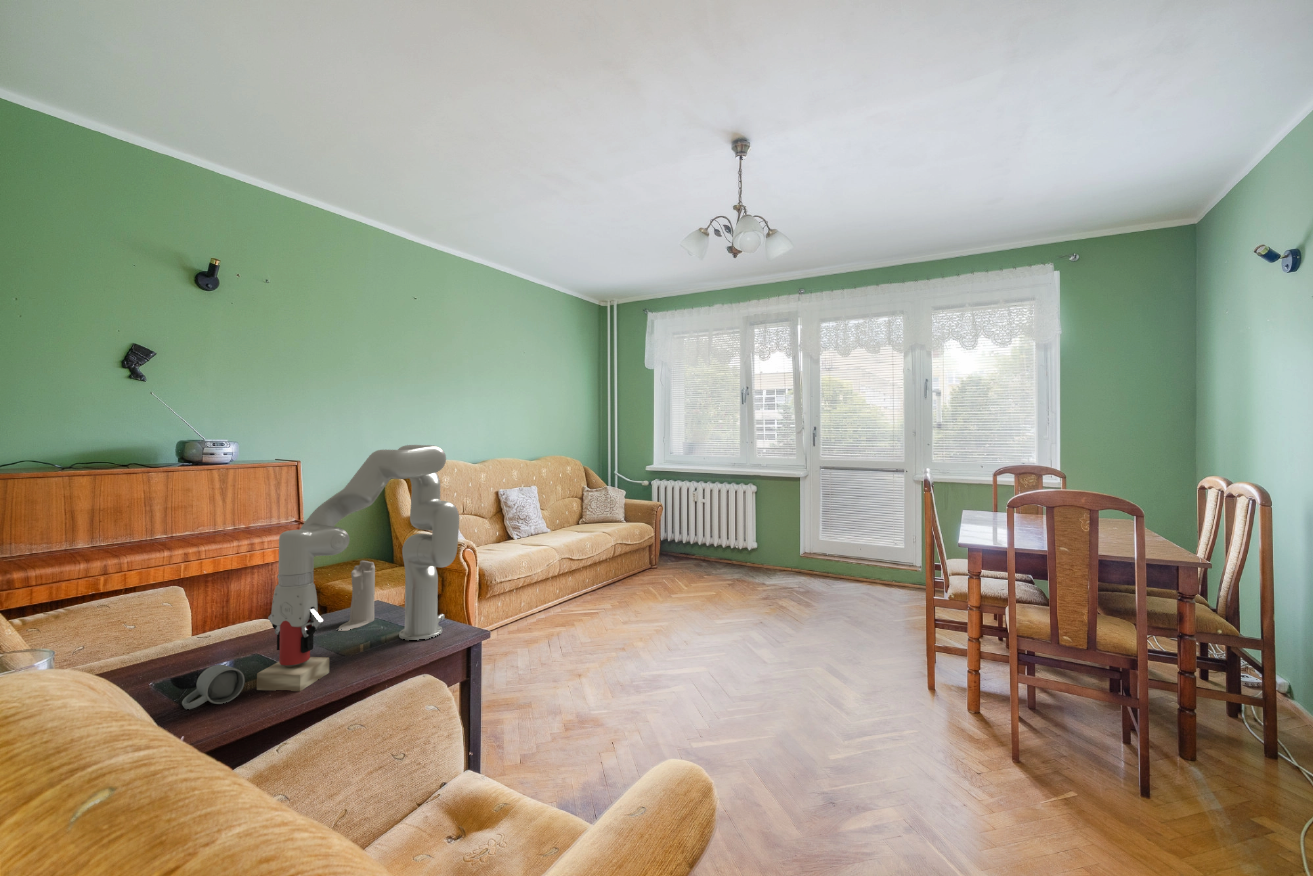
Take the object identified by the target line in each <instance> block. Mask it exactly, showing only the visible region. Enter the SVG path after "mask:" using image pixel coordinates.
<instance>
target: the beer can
mask: <svg viewBox="0 0 1313 876" xmlns="http://www.w3.org/2000/svg"><path fill="white" fill-rule="evenodd" d="M285 619H287V618H285ZM308 622H309V620H308ZM308 622H307V623H308ZM306 628H307V630H308V629H309V625H308V626H306ZM301 637H304V636H303V634H302V631H301V627H292V626H291V624H290V623H289V622H288V621H283V622H282V623H281V625H280V650H279V654H278V655H279V656H278V657H279V658H278V659H279V661H278V662H279V663H280V664H281V665H283V666H295V665H299V664H302V663H305V662H306V661H308V660H309V658H310V657H311V650H310V651H308V652H305V653H301Z"/></svg>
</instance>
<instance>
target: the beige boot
mask: <svg viewBox="0 0 1313 876" xmlns="http://www.w3.org/2000/svg"><path fill="white" fill-rule="evenodd" d="M375 584H376V567H375V563H374V562H373V561H368V560H360V561H359V564H357V565H355V566H354V567H353V570H352V571H351V587H352V588H351V589H352V592H351V593H352V595H351V602H350V608H349V609H350V610H349V619H348V621H347V622H345V623H342V624H341V625H340V626H338V629H339V630H338V631H341V632H347V631H350V629H351V630H353V629H357V628H361V627H363V626H365V625H367V624H370V623H372V622H374V621H375V592H376V591H375V590H376V589H375V588H376V585H375ZM341 629H342V630H341ZM338 631H337V632H338Z"/></svg>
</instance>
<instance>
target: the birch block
mask: <svg viewBox="0 0 1313 876" xmlns="http://www.w3.org/2000/svg"><path fill="white" fill-rule="evenodd" d="M329 673H330V657H325V656H320V657H319V656H310V658H309V660H308V661H306V662H305V663H302V664H299V665H295V666H283V665H281V664H280V663H279V661H277V662H275V663H274V664H272V665H270V666H269V667H266V668H264V669H262V670H260V671H259V672H257V673H256V690H257V691H276V690H291V691H290V692H302V691H304V690H305V689H306V688H307V687H309V686H311V685H312V684H314V683H315V682H317V681H318V679H319V680H320V679H322V678H323V677H325V676H327V675H328V674H329Z"/></svg>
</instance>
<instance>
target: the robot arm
mask: <svg viewBox="0 0 1313 876" xmlns="http://www.w3.org/2000/svg"><path fill="white" fill-rule="evenodd" d="M446 461H447V455H446V453H445V451H444V450H443V448H441V447H440V446H437V445H431V444H427V445H426V444H423V445H422V444H407V445H402V446H401V447H398V449H378V450H375V451H373V452H372V453H371V454H370V455H368V457H367V458H366V460H365V461H364V462H363V464H362V465H361V466H360V467H359V468H358V469H357V471H356V472H355V474H354V475H353V477H352V478H350V480H349V482H348V483H347V484H346V485H345V486H344V488H343V489H341V490H339V491H338V492H337V493H335V494H334V495H331V497H330V498H328V499H327V500H326V501H324V502H322V503H321V504H320V505H319V506H318V507H317V508H315V509H314V510H313V512H312V513H311V514H310V515H309V516H308V518H307V519H306V520H305V522H304V523H303V524H302V525H301V527H300V529H291V530H286V531H283V532H282V533H280V535H279V537H278V574H277V579H278V580H277V581H278V584H277V585H275V588H274V592H273V596H272V597H273V598H272V602H271V603H272V605H271V613H270V615H269V616H268V617H267V618H268V620H269V622H270V624H271V626H272V628H273V629H274V633H275V635H276V650H277V651H280V625H281V623H282V622H283V621H288V622H289V623H290V624H291V626H292V627H301V631H302V634H303V636H304V637H301V653H305V652H308V651H310V652H311V651H312V650H313V649H314V635H315V634H316V633H317V631H318V630H319V628H320V627H321V626H322V625H323V623H324V619H323V618H322V617H321V616H320V614H319V613H318V610H319V609H318V595H317V590H316V585H315V583H314V580H315V579H314V569H315V568H314V565H315V557H320V556H321V557H323V556H325V557H326V556H335V555H338V554H341V553H343V552H344V551H345V550H346V549H347V548H348V546H349V544H350V540H351V539H350V535H349V534H348V532H347V530H345V529H344V528H341V527H339V526H336V525H337V524H338V523H339V522H340V521H342V520H343V519H344V518H346V517H347V516H350V515H351V514H354V513H356V512H358V511H361V510H364V509H366V508H368V507H370V506H372V505H373V504H374V503H375V501H376V500H377V499H378V497H379V496H380V494H381V493H382V492H383V490H384V488H385V487H386V486H387V484H388V483H389V482H390V480H392V479H393V480H405V479H406V480H407V479H409V481H410V483H411V498H410V499H411V500H410V513H409V521H410V524H411V525H412V527H414V528H415V529H418V530H423V531H431V533H432V534H429V533H416V534H413V535H410V536H409V537H407V539H406V540H405V541H404V543H403V545H402V549H401V550H402V559H403V564H404V573H405V574H404V576H405V577H404V578H405V580H404V581H405V586H404V588H405V589H404V591H405V592H404V628H403V629H402V630H400V631H399V632H398V634H399V635H398V636H399V638H400V639H402V640H403V639H405V640H404V641H409V640H417V641H420V640H419V639H425V640H429V638H430V639H432V638H431V637H433V638H436V637H438V636H440V635H441V634H442V633H443V627H442V626H441V625H439V622H441V621H443V620H445V616H446V615H445V614H443V613H440V614H438V606H439V605H438V604H439V603H438V594H439V591H438V590H439V575H438V570H437V568H446V567H448V566H450V565H451V564H452V563H454V560H455V559H456V556H457V552H458V545H459V529H460V513H459V511H458V508H457V506H456V505H454V504H453V503H452V502H451V501H445V500H441V480H440V477H439V475H438V472H440V471H441V470H443V468H444V466H445V465H446ZM285 618H287V619H285ZM441 619H442V620H441ZM308 620H309V622H308ZM307 622H308V623H307ZM308 625H309V629H308V630H307V628H306V626H308ZM439 634H440V635H439ZM437 635H438V636H437ZM435 636H436V637H435Z"/></svg>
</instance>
